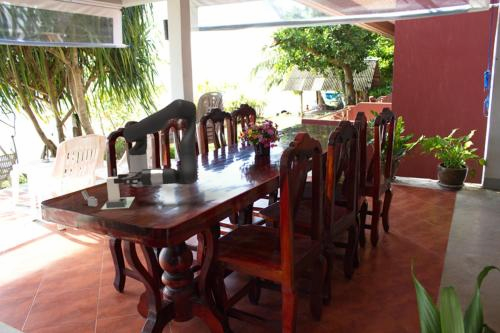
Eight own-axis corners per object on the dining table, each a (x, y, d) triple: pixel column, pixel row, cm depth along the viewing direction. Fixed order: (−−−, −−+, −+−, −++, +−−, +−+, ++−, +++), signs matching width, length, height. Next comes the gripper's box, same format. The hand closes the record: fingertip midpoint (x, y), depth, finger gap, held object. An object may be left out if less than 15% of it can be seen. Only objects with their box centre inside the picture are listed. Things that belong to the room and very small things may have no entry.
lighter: (98, 207, 199) (96, 190, 198) (95, 209, 198) (93, 191, 196) (85, 206, 202) (83, 189, 200) (82, 207, 200) (81, 190, 199)
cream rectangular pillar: (110, 205, 199) (106, 168, 195) (120, 204, 199) (117, 167, 196) (109, 207, 196) (105, 169, 192) (119, 206, 196) (116, 169, 193)
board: (109, 200, 210) (108, 193, 210) (135, 199, 212) (134, 191, 211) (101, 211, 193) (100, 203, 192) (129, 210, 194) (128, 202, 193)
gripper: (154, 165, 203) (118, 167, 201) (150, 172, 189) (111, 174, 187) (155, 181, 204) (119, 183, 203) (151, 189, 190) (113, 191, 189)
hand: (115, 178), depth 195 cm, fingers open, 8 cm apart
